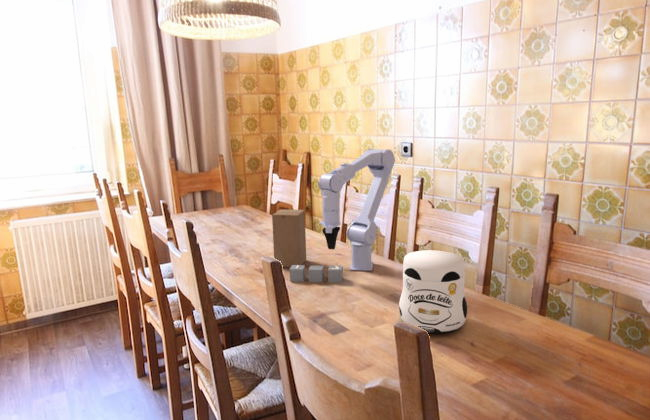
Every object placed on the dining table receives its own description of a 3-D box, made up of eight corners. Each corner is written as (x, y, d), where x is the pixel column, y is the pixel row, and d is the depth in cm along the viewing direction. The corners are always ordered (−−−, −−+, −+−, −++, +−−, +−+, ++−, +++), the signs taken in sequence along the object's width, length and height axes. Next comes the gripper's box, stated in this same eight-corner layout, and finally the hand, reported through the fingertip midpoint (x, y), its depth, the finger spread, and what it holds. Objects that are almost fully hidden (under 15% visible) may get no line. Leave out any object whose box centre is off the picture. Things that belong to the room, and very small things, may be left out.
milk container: (418, 344, 110) (419, 273, 107) (388, 315, 126) (388, 252, 123) (480, 333, 115) (483, 264, 111) (444, 306, 131) (445, 246, 128)
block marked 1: (292, 277, 159) (292, 264, 158) (305, 277, 158) (305, 264, 157) (290, 281, 154) (289, 268, 154) (303, 282, 154) (302, 268, 153)
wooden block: (300, 268, 168) (298, 215, 164) (274, 267, 170) (271, 214, 166) (306, 260, 177) (305, 209, 173) (281, 259, 179) (279, 209, 175)
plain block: (311, 277, 158) (310, 265, 157) (323, 278, 157) (323, 265, 156) (308, 282, 154) (308, 269, 153) (322, 282, 153) (321, 269, 152)
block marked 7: (329, 278, 157) (329, 265, 156) (342, 278, 157) (342, 265, 156) (328, 282, 153) (327, 269, 152) (341, 283, 152) (341, 269, 151)
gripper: (322, 205, 160) (322, 242, 163) (315, 213, 146) (316, 254, 149) (342, 205, 159) (342, 243, 162) (337, 213, 145) (338, 255, 148)
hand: (331, 248), depth 155 cm, fingers closed
